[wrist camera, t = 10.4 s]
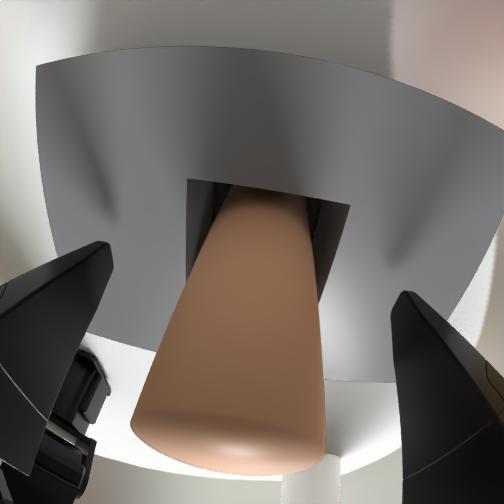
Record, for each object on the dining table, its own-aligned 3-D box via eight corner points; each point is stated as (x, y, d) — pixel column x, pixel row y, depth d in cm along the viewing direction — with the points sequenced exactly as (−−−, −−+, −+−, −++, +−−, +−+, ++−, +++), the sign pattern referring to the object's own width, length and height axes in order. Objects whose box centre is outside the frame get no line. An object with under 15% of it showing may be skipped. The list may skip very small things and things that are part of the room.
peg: (223, 233, 14) (148, 455, 5) (230, 161, 12) (107, 384, 3) (297, 245, 14) (297, 480, 5) (313, 175, 12) (360, 426, 3)
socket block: (113, 281, 16) (81, 330, 13) (98, 60, 9) (36, 65, 6) (385, 326, 16) (400, 382, 12) (469, 120, 9) (526, 144, 6)
